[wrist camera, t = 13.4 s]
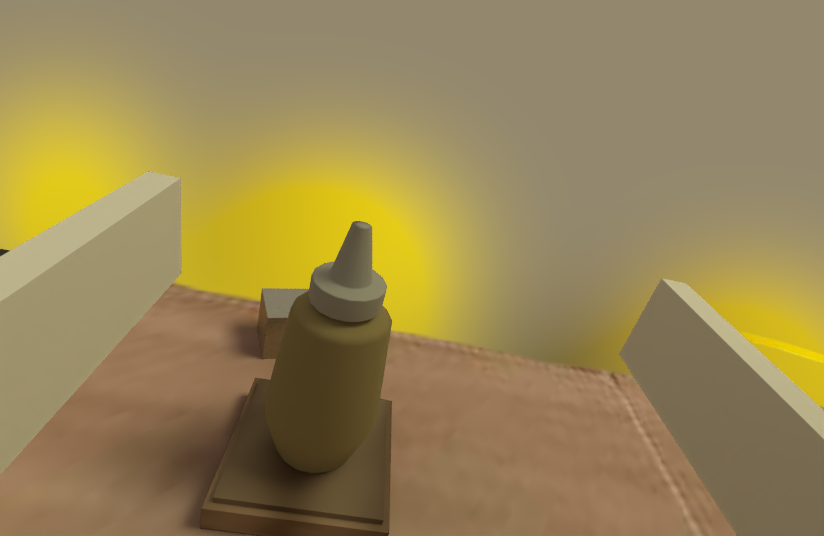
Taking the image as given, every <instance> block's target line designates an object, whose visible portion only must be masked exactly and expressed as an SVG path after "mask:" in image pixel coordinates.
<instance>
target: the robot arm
mask: <svg viewBox="0 0 824 536" xmlns="http://www.w3.org/2000/svg"><path fill="white" fill-rule="evenodd" d="M180 274H181V178H177V177H173V176H168V175H163V174H158V173H154V172H149V171H148V172H147V173H145V174H143V175H141V176H140V177H138V178H136V179H134V180H133V181H131V182H129V183H128V184H126V185H124V186H122V187H120V188H119V189H117V190H115V191H114V192H112V193H110V194H108V195H107V196H105V197H103V198H101V199H100V200H98V201H96V202H95V203H93V204H91V205H89V206H87V207H86V208H84V209H82V210H80V211H79V212H77V213H75V214H73V215H72V216H70V217H68V218H66V219H65V220H63V221H61V222H60V223H58V224H56V225H54V226H53V227H51V228H49V229H47V230H45V231H44V232H42V233H40V234H39V235H37V236H35V237H33V238H32V239H30V240H28V241H26V242H25V243H23V244H21V245H19V246H18V247H16V248H14V249H12V250H11V251H9V250H3V249H0V475H1V474H2V472H3V471H4V470H5V469H6V468H7V467H8V466H9V465H10V463H11V462H12V461H13V460H14V459H15V458H16V457H17V456H18V455H19V453H20V452H21V451H22V450H23V449H24V448H25V447H26V446H27V445H28V443H29V442H30V441H31V440H32V439H33V438H34V437H35V436H36V435H37V433H38V432H39V431H40V430H41V429H42V428H43V427H44V426H45V425H46V423H47V422H48V421H49V420H50V419H51V418H52V417H53V416H54V414H55V413H56V412H57V411H58V410H59V409H60V408H61V407H62V406H63V404H64V403H65V402H66V401H67V400H68V399H69V398H70V397H71V396H72V394H73V393H74V392H75V391H76V390H77V389H78V388H79V387H80V386H81V384H82V383H83V382H84V381H85V380H86V379H87V378H88V377H89V376H90V374H91V373H92V372H93V371H94V370H95V369H96V368H97V367H98V366H99V364H100V363H101V362H102V361H103V360H104V359H105V358H106V357H107V355H108V354H109V353H110V352H111V351H112V350H113V349H114V348H115V347H116V345H117V344H118V343H119V342H120V341H121V340H122V339H123V338H124V337H125V335H126V334H127V333H128V332H129V331H130V330H131V329H132V328H133V327H134V325H135V324H136V323H137V322H138V321H139V320H140V319H141V318H142V317H143V315H144V314H145V313H146V312H147V311H148V310H149V309H150V308H151V306H152V305H153V304H154V303H155V302H156V301H157V300H158V299H159V298H160V296H161V295H162V294H163V293H164V292H165V291H166V290H167V289H168V288H169V286H170V285H171V284H172V283H173V282H174V281H175V280H176V279H177V278H178V276H179V275H180ZM619 354H620V356H621V358H622V359H623V361H624V362H625V364H626V365H627V367H628V368H629V370H630V372H631V373H632V375H633V376H634V378H635V379H636V381H637V382H638V384H639V385H640V387H641V388H642V390H643V392H644V393H645V395H646V396H647V398H648V399H649V401H650V402H651V404H652V405H653V407H654V408H655V410H656V412H657V413H658V415H659V416H660V418H661V419H662V421H663V422H664V424H665V425H666V427H667V428H668V430H669V432H670V433H671V435H672V436H673V438H674V439H675V441H676V442H677V444H678V445H679V447H680V448H681V450H682V451H683V453H684V455H685V456H686V458H687V459H688V461H689V462H690V464H691V465H692V467H693V468H694V470H695V471H696V473H697V475H698V476H699V478H700V479H701V481H702V482H703V484H704V485H705V487H706V488H707V490H708V491H709V493H710V495H711V496H712V498H713V499H714V501H715V502H716V504H717V505H718V507H719V508H720V510H721V511H722V513H723V515H724V516H725V518H726V519H727V521H728V522H729V524H730V525H731V527H732V528H733V530H734V531H735V533H736V535H737V536H824V410H823V409H821V408H820V407H819V406H818V405H817V404H816V403H815V402H814V401H813V400H812V399H811V398H809V397H808V396H807V395H806V394H805V393H804V392H803V391H802V390H801V389H800V388H799V387H798V386H796V385H795V384H794V383H793V382H792V381H791V380H790V379H789V378H788V377H787V376H786V375H785V374H784V373H782V372H781V371H780V370H779V369H778V368H777V367H776V366H775V365H774V364H773V363H771V362H770V361H769V360H768V359H767V358H766V357H765V356H764V355H763V354H762V353H761V352H759V350H757V349H756V348H755V347H754V346H753V345H752V344H751V343H750V342H749V341H748V340H747V339H746V338H744V337H743V336H742V335H741V334H740V333H739V332H738V331H737V330H736V329H735V328H734V327H732V326H731V325H730V324H729V323H728V322H727V321H726V320H725V319H724V318H723V317H722V316H721V315H720V314H718V313H717V312H716V311H715V310H714V309H713V308H712V307H711V306H710V305H709V304H708V303H706V302H705V301H704V300H703V299H702V298H701V297H700V296H699V295H698V294H697V293H695V291H693V290H692V289H691V288H690V287H689V286H688V285H687V284H686V283H680V282H676V281H671V280H666V279H661V280H660V282H659V284H658V286H657V287H656V289H655V291H654V293H653V295H652V296H651V298H650V300H649V302H648V303H647V305H646V307H645V309H644V310H643V312H642V314H641V316H640V318H639V319H638V321H637V323H636V325H635V327H634V328H633V330H632V332H631V334H630V335H629V337H628V339H627V341H626V343H625V344H624V346H623V348H622V350H621V351H620V353H619Z"/></svg>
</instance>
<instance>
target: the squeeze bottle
mask: <svg viewBox="0 0 824 536" xmlns="http://www.w3.org/2000/svg"><path fill="white" fill-rule="evenodd" d="M386 288H387V285H386V283H385V281H384V279H383V278H382V277H381V276H380V275H379V274H378V273H376V272H375V271H374V270H372V227H371V225H370V224H368V223H365V222H360V221H355V222H353V223H352V225H351V227H350V229H349V231H348V234H347V236H346V238H345V240H344V243H343V245H342V247H341V249H340V251H339V253H338V255H337V258H336V260H335V262H329V263H324V264H323V265H320V266H319V267H317V268H316V269H315V270H314V272H313V274H312V276H311V282H310V288H309V291H307V292H305V293H304V294H302V295H300V296H298V297H297V298H296V299H295V301H294V303H293V305H292V306H291V309H290V312H289V316H288V319H287V323H286V326H285V330H284V333H283V337H282V341H281V344H280V348H279V351H278V355H277V358H276V362H275V365H274V369H273V373H272V376H271V380H270V383H269V387H268V390H267V394H266V397H265V401H264V402H265V416H266V421H267V424H268V427H269V430H270V432H271V435H272V438H273V441H274V444H275V447H276V450H277V451H278V453H279V454H280V456H281V457H282V459H283V460H284V462H286V463H287V464H289V465H290V466H292V467H293V468H295V469H297V470H300V471H304V472H309V473H313V474H314V473H322V472H330V471H332V470H334V469H336V468H337V467H339V466H341V465H343V464H344V463H345V462H346V461H347V460H348V458H349V457H350V456H351V455H352V454H353V453H354V452H355V450H356V449H357V448H358V447H359V446H360V445H361V444H362V442H363V441H364V440H365V439H366V438H367V436H368V435H369V434H370V433H371V431H372V430H373V429H374V428H375V425H376V419H377V413H378V407H379V401H380V394H381V388H382V382H383V375H384V369H385V363H386V356H387V350H388V344H389V337H390V331H391V325H392V320H391V318H390V316H389V313H388V311H387V310H386V309H385V308H384V307H383V306H382V304H383V301H384V297H385V293H386Z"/></svg>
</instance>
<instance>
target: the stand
mask: <svg viewBox="0 0 824 536" xmlns="http://www.w3.org/2000/svg"><path fill="white" fill-rule="evenodd" d="M269 383H270V380H267V379H261V378H255V380H254V382H253V385H252V387H251V389H250V392H249V394H248V397H247V399H246V402H245V404H244V406H243V409H242V411H241V414H240V416H239V418H238V421H237V423H236V426H235V428H234V431H233V433H232V435H231V438H230V440H229V443H228V445H227V447H226V450H225V452H224V455H223V457H222V460H221V462H220V464H219V467H218V469H217V472H216V474H215V476H214V479H213V481H212V484H211V486H210V488H209V491H208V493H207V496H206V498H205V501H204V503H203V505H202V508H201V520H200V528H204V529H212V530H220V531H228V532H236V533H244V534H252V535H260V536H388V534H389V509H390V462H391V415H392V401H388V400H384V399H380V401H379V407H378V413H377V419H376V425H375V428H374V429H373V430H372V431H371V433H370V434H369V435H368V436H367V438H366V439H365V440H364V441H363V442H362V444H361V445H360V446H359V447H358V448H357V449H356V450H355V452H354V453H353V454H352V455H351V456H350V457H349V458H348V460H347V461H346V462H345V463H344V464H343V465H341V466H339V467H337V468H336V469H334V470H332V471H330V472H322V473H314V474H313V473H309V472H304V471H300V470H297V469H295V468H293V467H292V466H290V465H289V464H287V463H286V462H284V460H283V459H282V457H281V456H280V454H279V453H278V451H277V450H276V447H275V444H274V441H273V438H272V435H271V432H270V430H269V427H268V424H267V421H266V416H265V402H264V401H265V397H266V394H267V390H268V387H269Z"/></svg>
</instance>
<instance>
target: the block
mask: <svg viewBox="0 0 824 536" xmlns="http://www.w3.org/2000/svg"><path fill="white" fill-rule="evenodd" d="M307 291H309V289H262V294H261V302H260V310H259V319H258V327H257V328H258V335H259V341H260V347H261V353H262V359H276V358H277V355H278V351H279V348H280V344H281V341H282V337H283V333H284V330H285V326H286V323H287V319H288V316H289V312H290V309H291V306H292V305H293V303H294V301H295V299H296V298H297V297H298V296H300V295H302V294H304V293H305V292H307Z"/></svg>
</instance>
